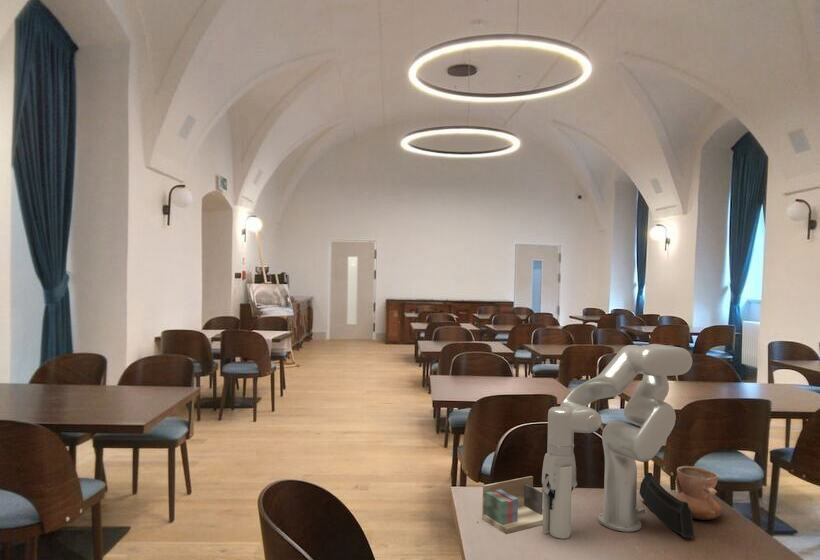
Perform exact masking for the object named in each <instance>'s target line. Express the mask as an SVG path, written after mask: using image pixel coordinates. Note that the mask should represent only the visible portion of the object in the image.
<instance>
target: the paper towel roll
mask: <svg viewBox="0 0 820 560" xmlns="http://www.w3.org/2000/svg"><path fill="white" fill-rule="evenodd" d="M548 490H549V488H548ZM551 492H553V494H554V491H553V490H551ZM572 492H573V490H572V465H568V466H563V467H560V476H559V486H558V489H557V490H556V496H555V500H553V504H554V510H553V509H552V510H551V509H550V498H549V497H548V495H547V494H546V493H544V492H543V505H542V509H543V525H542V534H546V533H549V535H550V536H552V537H554V538H557V539H563V540H564V539H569V538H570V537H571V529H572V527H571V525H572V524H571V523H572Z"/></svg>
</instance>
